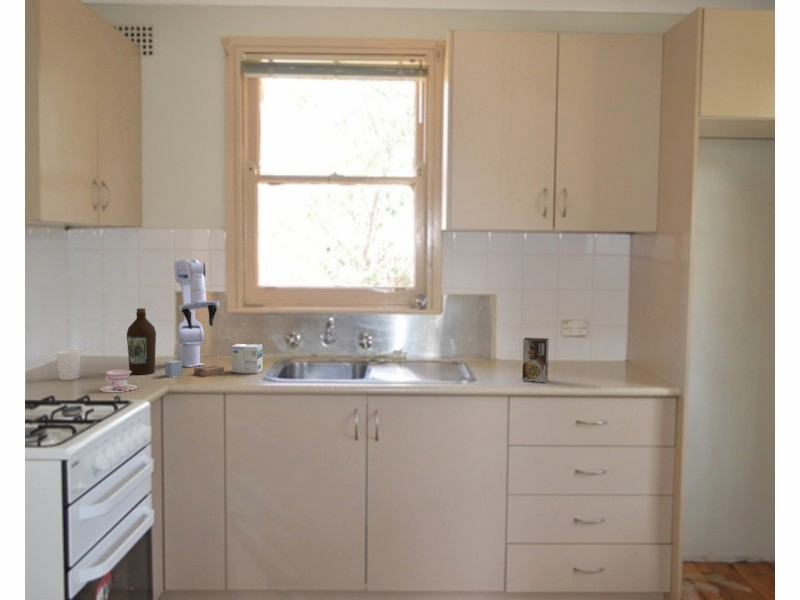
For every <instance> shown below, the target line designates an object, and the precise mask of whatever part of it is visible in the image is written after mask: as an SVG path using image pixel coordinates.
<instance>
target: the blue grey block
mask: <svg viewBox="0 0 800 600" xmlns="http://www.w3.org/2000/svg"><path fill="white" fill-rule="evenodd" d="M165 375H166V377H168V376H171V377H170V378H174V377H173V376H177V377H181V376H180V375H182V376H183V366H182V361H177V359H174V360H167V361H164V376H165Z"/></svg>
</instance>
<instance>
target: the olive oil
mask: <svg viewBox="0 0 800 600" xmlns="http://www.w3.org/2000/svg"><path fill="white" fill-rule="evenodd" d="M146 313H147V312H146V308H143V307H141V308H140V307H139V308H136V318H135V320H134V321H133V322H132V323H131V324H130V325H129V326H128V328H127V332H126V343H127V354H128V357H127V358H128V370H130V371H132V372H131V374H130V375H136V376H137V375H138V376H140V375H150V374H151V375H152V374H153V373H155V372H156V347H157V346H156V341H157V340H156V339H157V331H156V329H155V326H154V325H153V324H152V323H151V322H150V321H149V320H148V319H147V318H146V317H147V316H146V315H147V314H146Z"/></svg>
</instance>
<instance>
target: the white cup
mask: <svg viewBox="0 0 800 600" xmlns="http://www.w3.org/2000/svg"><path fill="white" fill-rule="evenodd" d="M56 355H57V357H56V359H57V370H58V376H59V377H58V378H59V380H61V381H69V380H70V381H72V380H77V379H79V378H80V370H81V350H78V349H71V350H70V349H69V350H67V349H66V350H60V351H59V350H58V351H57V352H56Z"/></svg>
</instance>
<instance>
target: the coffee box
mask: <svg viewBox="0 0 800 600" xmlns="http://www.w3.org/2000/svg"><path fill="white" fill-rule="evenodd" d="M522 380H524V381H523V382H527V381H535V382H534V383H542V382H545V384H546V383H547V382H548V381H549V338H546V337H545V338H544V337H524V338H523V339H522V379H521V381H522Z"/></svg>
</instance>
